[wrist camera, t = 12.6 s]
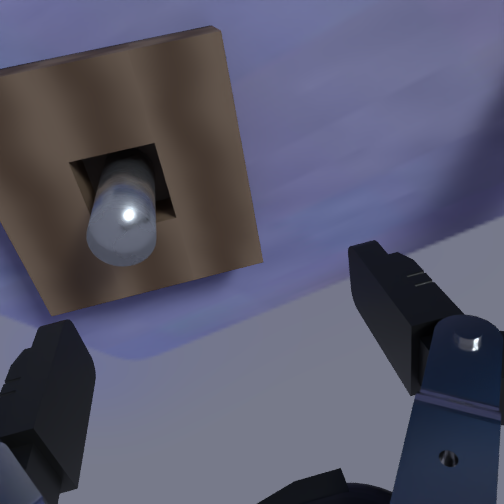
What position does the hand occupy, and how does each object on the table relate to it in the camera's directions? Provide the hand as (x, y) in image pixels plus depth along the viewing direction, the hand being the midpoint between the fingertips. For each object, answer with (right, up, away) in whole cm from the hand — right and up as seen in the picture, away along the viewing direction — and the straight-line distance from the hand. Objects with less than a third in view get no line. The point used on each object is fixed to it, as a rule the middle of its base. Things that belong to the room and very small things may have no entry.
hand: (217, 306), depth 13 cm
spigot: (-9, +8, +23) cm, 26 cm away
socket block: (-9, +8, +24) cm, 27 cm away
